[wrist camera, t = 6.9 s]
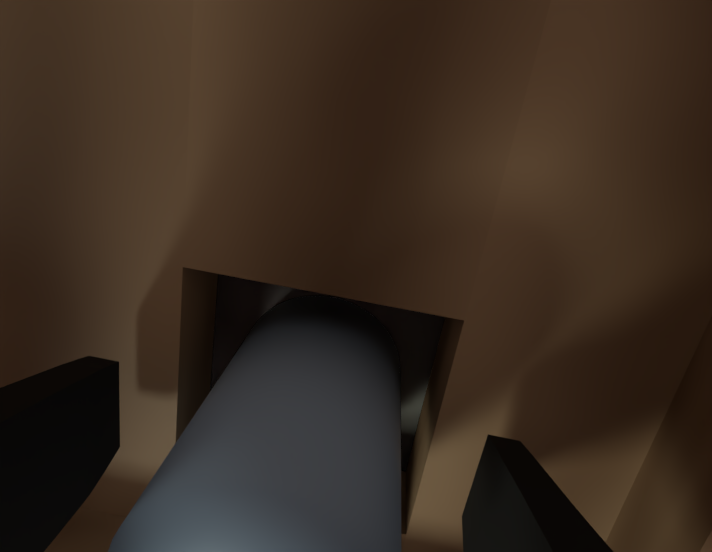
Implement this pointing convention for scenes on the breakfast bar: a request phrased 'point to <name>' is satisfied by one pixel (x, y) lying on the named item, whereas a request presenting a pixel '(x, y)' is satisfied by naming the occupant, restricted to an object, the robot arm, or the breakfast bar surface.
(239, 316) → the breakfast bar surface
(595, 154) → the box with square hole
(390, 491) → the peg
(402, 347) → the breakfast bar surface
